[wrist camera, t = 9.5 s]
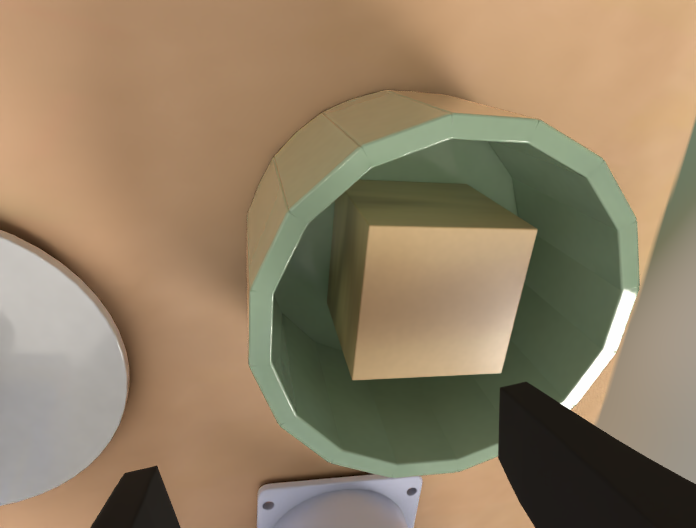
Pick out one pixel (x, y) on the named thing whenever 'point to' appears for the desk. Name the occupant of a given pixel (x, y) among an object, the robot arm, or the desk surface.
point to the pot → (535, 303)
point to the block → (425, 279)
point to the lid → (53, 372)
